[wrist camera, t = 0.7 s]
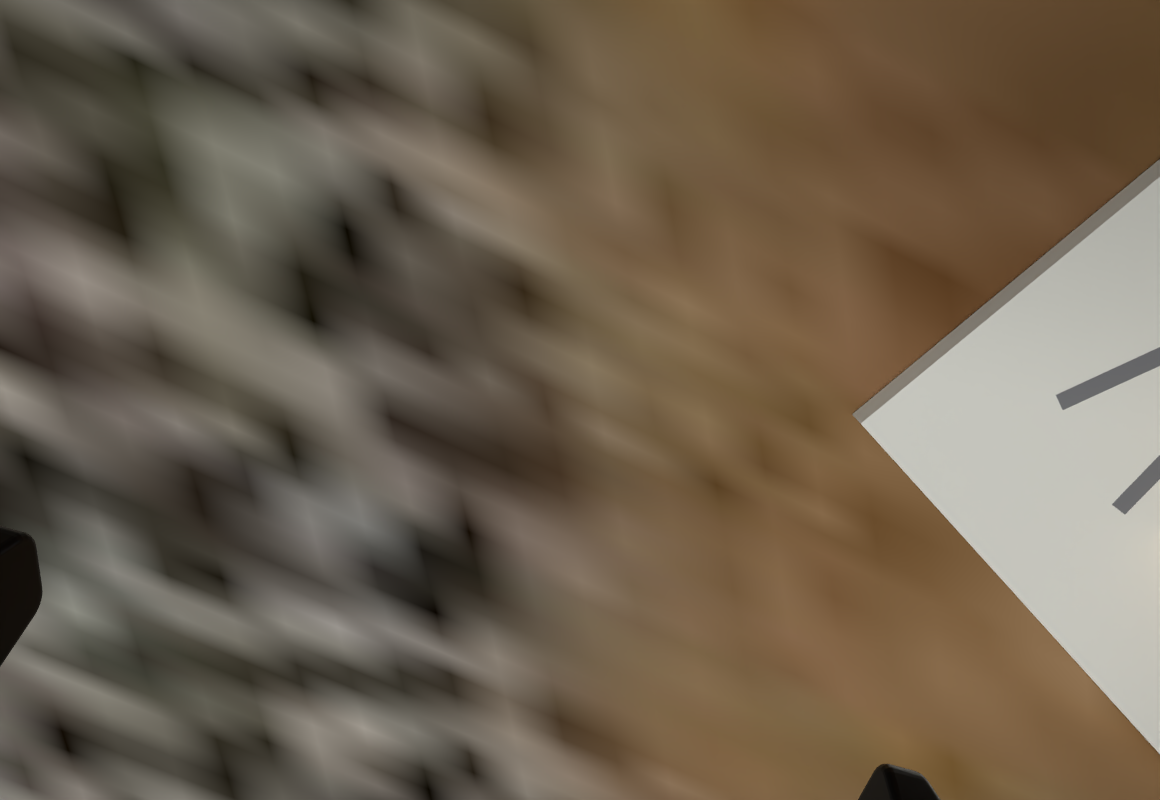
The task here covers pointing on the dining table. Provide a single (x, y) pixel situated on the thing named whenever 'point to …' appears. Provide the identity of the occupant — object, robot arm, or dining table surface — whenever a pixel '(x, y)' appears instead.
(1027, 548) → the board
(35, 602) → the robot arm
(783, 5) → the dining table surface
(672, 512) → the dining table surface
